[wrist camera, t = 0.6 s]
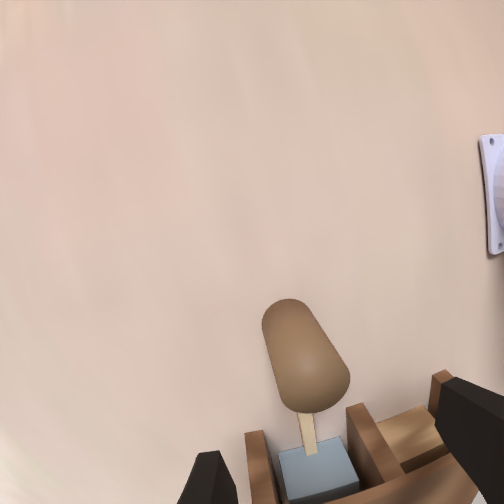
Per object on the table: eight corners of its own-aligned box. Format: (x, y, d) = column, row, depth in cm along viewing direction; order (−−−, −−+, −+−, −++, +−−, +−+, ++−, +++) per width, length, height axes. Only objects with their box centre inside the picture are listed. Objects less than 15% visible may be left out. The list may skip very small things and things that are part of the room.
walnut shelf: (445, 369, 19) (507, 428, 12) (430, 451, 22) (469, 506, 14) (244, 433, 19) (255, 529, 11) (270, 504, 21) (283, 576, 14)
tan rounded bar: (323, 289, 17) (368, 340, 11) (341, 469, 21) (363, 524, 15) (241, 309, 17) (250, 372, 11) (286, 484, 21) (300, 542, 15)
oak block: (422, 404, 20) (450, 438, 16) (416, 440, 21) (440, 473, 17) (369, 424, 20) (393, 466, 16) (368, 459, 21) (388, 497, 17)
